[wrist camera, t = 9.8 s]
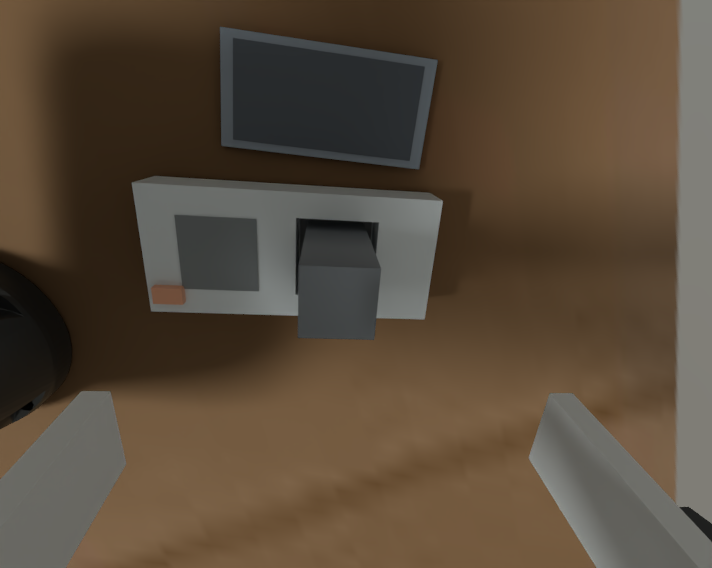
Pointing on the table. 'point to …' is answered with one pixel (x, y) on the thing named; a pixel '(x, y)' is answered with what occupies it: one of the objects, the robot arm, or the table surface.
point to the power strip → (274, 243)
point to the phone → (323, 99)
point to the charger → (337, 282)
